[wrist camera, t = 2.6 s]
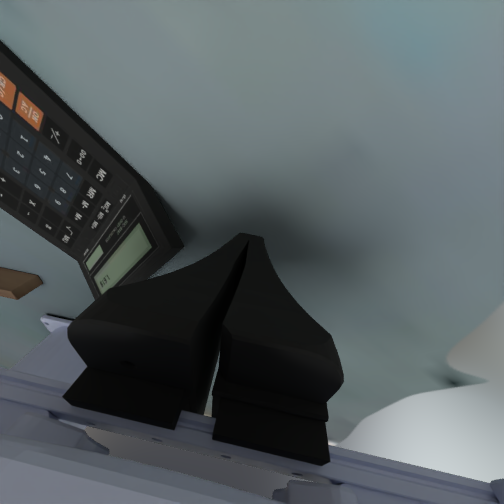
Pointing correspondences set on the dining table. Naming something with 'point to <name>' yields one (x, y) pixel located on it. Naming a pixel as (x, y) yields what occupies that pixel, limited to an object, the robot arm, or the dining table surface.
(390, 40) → the dining table surface
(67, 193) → the calculator
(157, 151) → the dining table surface
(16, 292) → the brown angled flat piece
